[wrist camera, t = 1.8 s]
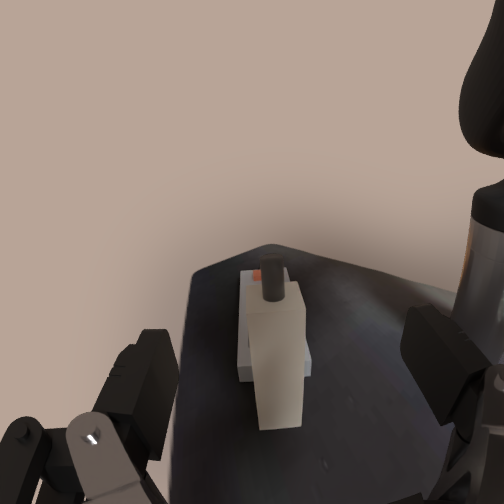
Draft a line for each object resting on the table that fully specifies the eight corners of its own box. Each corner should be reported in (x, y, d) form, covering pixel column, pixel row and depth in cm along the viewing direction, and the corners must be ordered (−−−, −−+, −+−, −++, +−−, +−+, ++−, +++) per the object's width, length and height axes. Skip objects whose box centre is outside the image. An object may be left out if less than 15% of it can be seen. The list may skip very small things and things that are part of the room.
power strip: (242, 271, 58) (240, 255, 57) (283, 268, 58) (282, 252, 57) (239, 382, 31) (236, 361, 30) (310, 375, 31) (311, 354, 30)
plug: (258, 400, 28) (242, 249, 22) (296, 397, 28) (296, 245, 22) (259, 430, 25) (241, 273, 18) (301, 426, 25) (306, 268, 18)
